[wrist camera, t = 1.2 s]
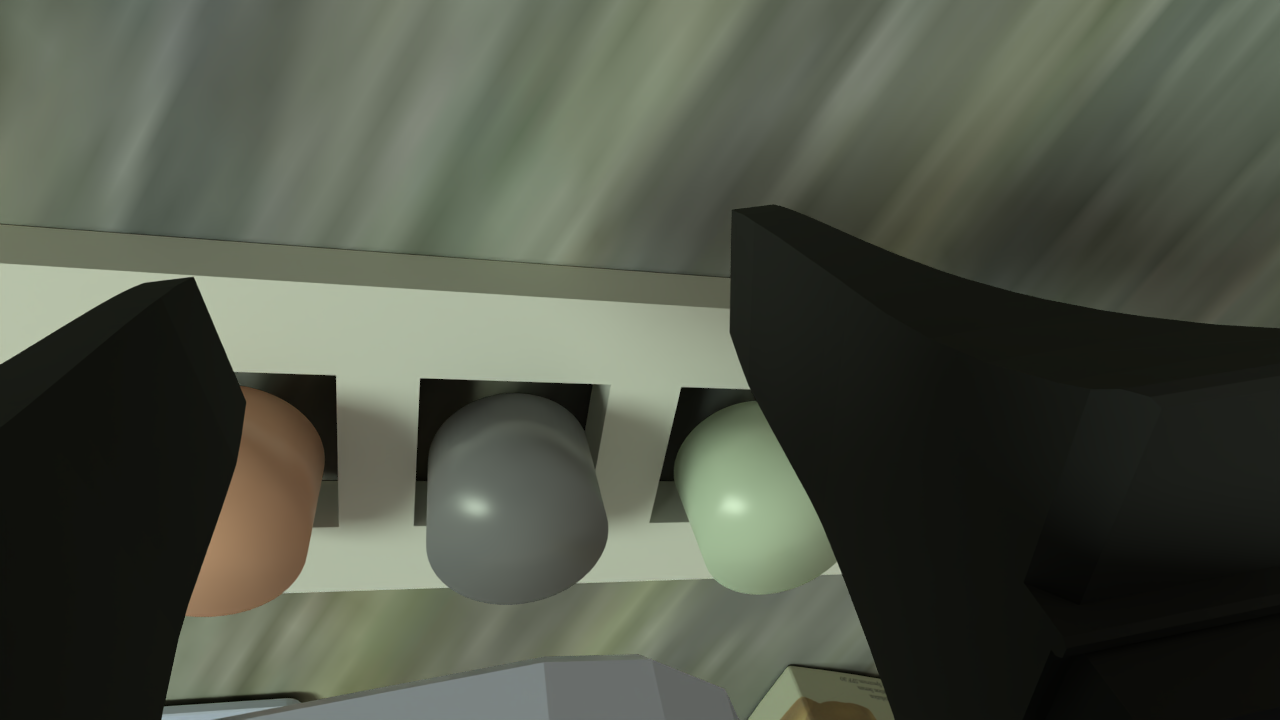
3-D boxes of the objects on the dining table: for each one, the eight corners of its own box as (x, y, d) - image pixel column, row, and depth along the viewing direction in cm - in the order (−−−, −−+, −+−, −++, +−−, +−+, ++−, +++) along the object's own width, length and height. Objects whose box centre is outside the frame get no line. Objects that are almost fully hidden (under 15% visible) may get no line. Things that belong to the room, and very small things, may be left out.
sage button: (791, 516, 26) (832, 591, 23) (660, 517, 24) (687, 597, 22) (831, 402, 23) (881, 471, 21) (690, 398, 22) (724, 470, 20)
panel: (820, 534, 29) (842, 574, 28) (72, 548, 23) (43, 601, 21) (911, 291, 24) (946, 322, 23) (-6, 224, 18) (-51, 260, 16)
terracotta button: (327, 521, 22) (311, 612, 19) (146, 523, 21) (102, 621, 18) (323, 387, 20) (304, 468, 17) (120, 381, 18) (66, 467, 16)
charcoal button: (577, 518, 24) (594, 601, 21) (425, 520, 22) (422, 608, 20) (599, 395, 22) (621, 470, 19) (431, 390, 20) (429, 469, 18)
